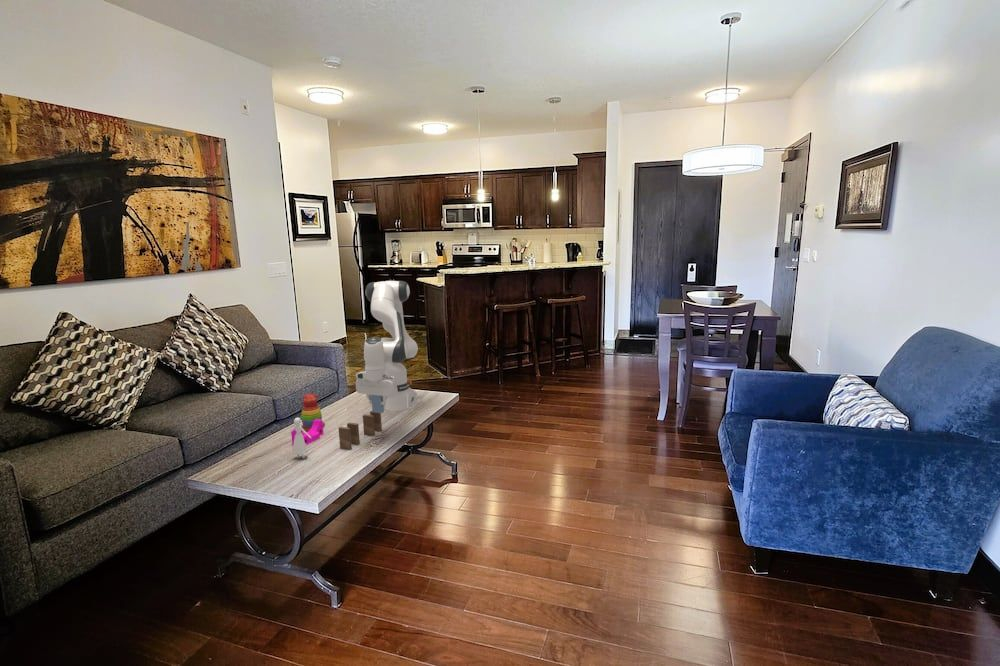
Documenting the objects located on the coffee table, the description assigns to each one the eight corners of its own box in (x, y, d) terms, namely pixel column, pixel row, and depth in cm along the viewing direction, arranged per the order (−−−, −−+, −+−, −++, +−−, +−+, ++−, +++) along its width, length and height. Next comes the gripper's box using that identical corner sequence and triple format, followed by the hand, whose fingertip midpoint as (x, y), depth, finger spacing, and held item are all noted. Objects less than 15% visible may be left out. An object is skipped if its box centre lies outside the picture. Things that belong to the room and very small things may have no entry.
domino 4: (374, 410, 215) (373, 389, 213) (383, 412, 213) (382, 390, 211) (372, 412, 213) (371, 390, 211) (381, 413, 211) (380, 391, 209)
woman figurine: (316, 456, 202) (313, 416, 199) (310, 461, 198) (306, 420, 195) (292, 454, 204) (288, 415, 201) (285, 459, 200) (281, 418, 197)
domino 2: (350, 443, 216) (349, 422, 214) (359, 444, 214) (358, 423, 212) (348, 444, 214) (346, 423, 213) (357, 446, 212) (355, 424, 211)
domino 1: (342, 447, 211) (341, 426, 209) (351, 449, 209) (350, 428, 207) (340, 449, 209) (338, 427, 208) (349, 451, 207) (347, 429, 206)
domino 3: (366, 434, 226) (364, 414, 224) (374, 435, 224) (373, 415, 222) (364, 435, 224) (362, 415, 223) (372, 437, 222) (371, 416, 221)
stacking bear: (325, 424, 240) (322, 390, 237) (323, 431, 230) (320, 396, 227) (302, 426, 237) (299, 392, 234) (299, 434, 228) (296, 398, 225)
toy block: (302, 447, 212) (301, 431, 211) (292, 445, 215) (290, 429, 213) (327, 435, 226) (326, 420, 224) (317, 433, 228) (316, 418, 227)
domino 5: (373, 430, 231) (372, 410, 229) (381, 431, 229) (380, 411, 227) (371, 431, 229) (370, 411, 228) (379, 432, 227) (378, 413, 226)
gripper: (399, 374, 209) (401, 404, 211) (361, 370, 216) (363, 399, 219) (391, 378, 203) (393, 409, 205) (352, 374, 211) (354, 404, 213)
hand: (377, 404), depth 212 cm, fingers closed on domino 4, 5 cm apart
